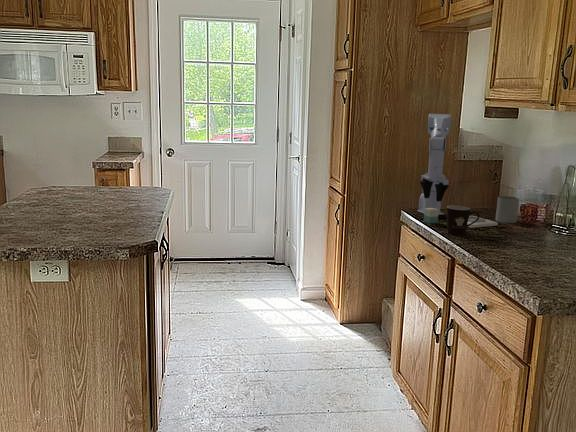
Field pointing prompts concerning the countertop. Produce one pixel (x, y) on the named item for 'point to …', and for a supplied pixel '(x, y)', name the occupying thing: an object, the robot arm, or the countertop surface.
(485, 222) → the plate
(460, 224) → the coffee mug
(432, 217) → the block
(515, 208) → the cup
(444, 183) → the robot arm
